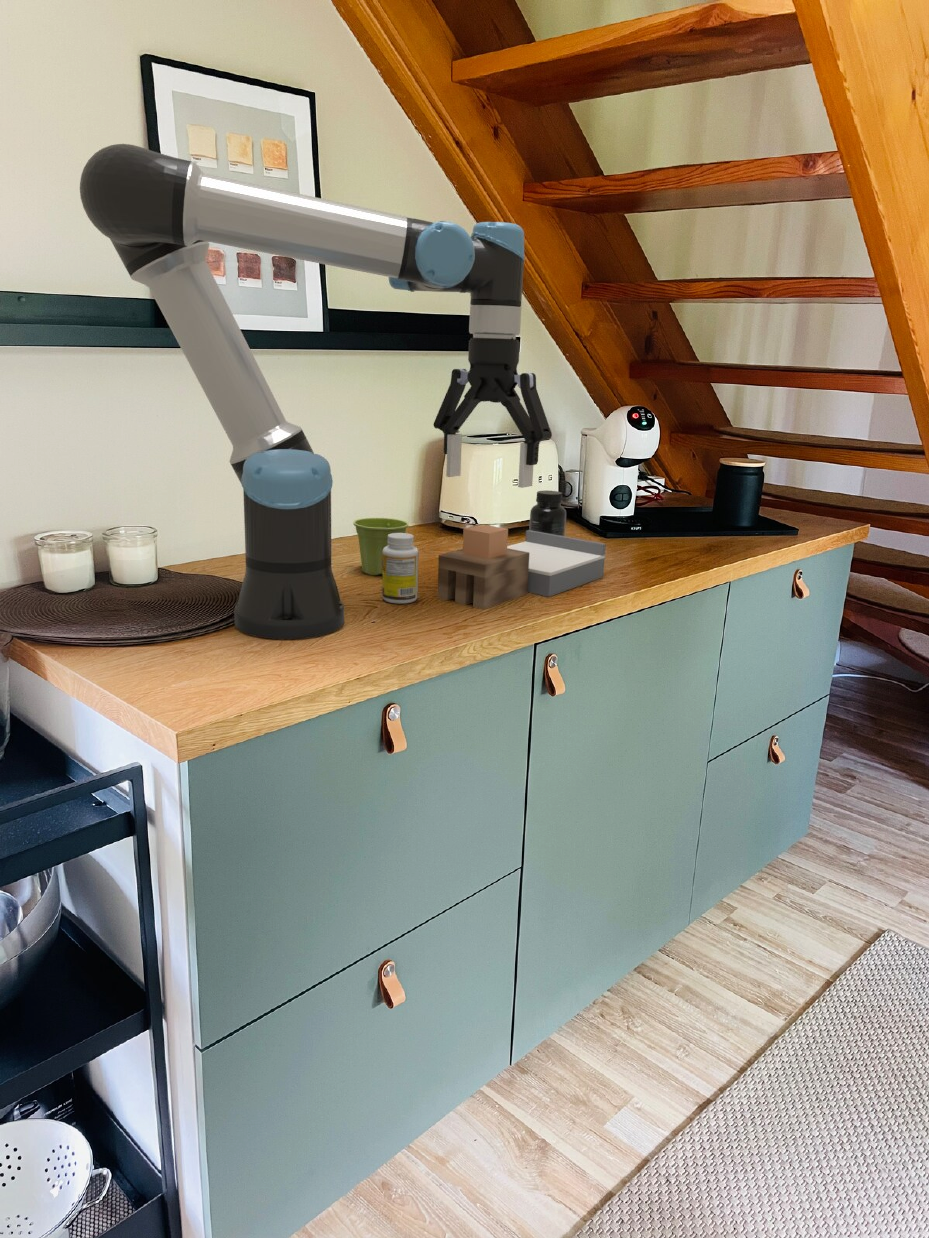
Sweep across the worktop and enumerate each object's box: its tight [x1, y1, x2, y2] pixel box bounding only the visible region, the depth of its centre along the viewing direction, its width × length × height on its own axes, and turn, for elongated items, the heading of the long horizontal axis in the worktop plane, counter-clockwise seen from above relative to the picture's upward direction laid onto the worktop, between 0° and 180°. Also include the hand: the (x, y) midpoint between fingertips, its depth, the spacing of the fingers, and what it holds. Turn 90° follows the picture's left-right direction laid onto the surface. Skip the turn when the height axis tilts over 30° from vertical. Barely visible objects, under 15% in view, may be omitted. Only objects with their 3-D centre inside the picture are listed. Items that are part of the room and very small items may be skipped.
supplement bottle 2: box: [528, 490, 567, 537], centre depth 175 cm, size 7×7×12 cm
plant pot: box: [352, 517, 410, 576], centre depth 157 cm, size 9×9×9 cm
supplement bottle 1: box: [381, 532, 420, 605], centre depth 141 cm, size 6×6×10 cm
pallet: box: [437, 548, 529, 610], centre depth 145 cm, size 12×9×7 cm
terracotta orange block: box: [462, 523, 509, 559], centre depth 143 cm, size 5×5×4 cm
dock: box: [507, 529, 607, 598], centre depth 157 cm, size 18×16×6 cm
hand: (488, 481), depth 141 cm, fingers open, 13 cm apart
